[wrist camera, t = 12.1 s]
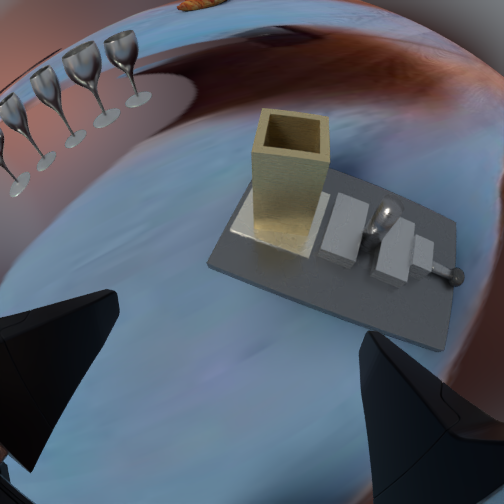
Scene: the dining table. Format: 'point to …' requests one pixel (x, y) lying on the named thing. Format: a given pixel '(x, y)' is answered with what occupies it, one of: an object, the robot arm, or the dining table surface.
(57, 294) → the dining table surface
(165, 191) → the dining table surface
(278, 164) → the sleeve
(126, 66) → the goblet set
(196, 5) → the croissant
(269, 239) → the grey base plate
